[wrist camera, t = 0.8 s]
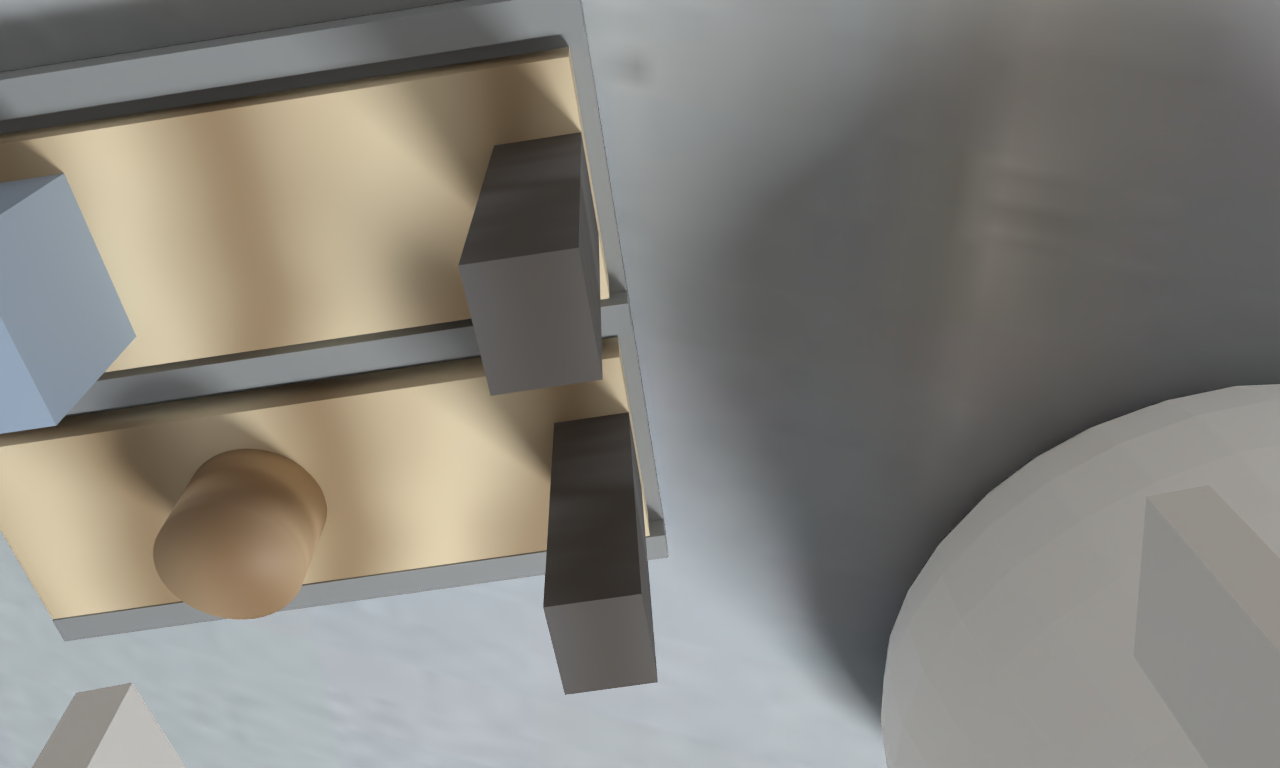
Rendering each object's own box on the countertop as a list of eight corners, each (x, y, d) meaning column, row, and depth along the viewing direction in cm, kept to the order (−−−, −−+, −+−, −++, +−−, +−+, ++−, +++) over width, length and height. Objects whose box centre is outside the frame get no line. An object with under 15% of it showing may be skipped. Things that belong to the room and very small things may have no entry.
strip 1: (-50, 376, 31) (-298, 587, 22) (-171, 160, 27) (-521, 311, 19) (608, 279, 30) (616, 457, 22) (569, 46, 27) (560, 148, 18)
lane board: (83, 612, 37) (64, 641, 35) (-202, 104, 27) (-243, 117, 26) (665, 531, 36) (668, 557, 35) (578, -18, 27) (577, -11, 25)
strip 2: (71, 592, 35) (-96, 837, 27) (-20, 429, 32) (-246, 651, 23) (647, 511, 35) (667, 735, 26) (618, 336, 31) (630, 528, 23)
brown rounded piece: (216, 565, 33) (185, 627, 31) (167, 459, 31) (129, 516, 28) (343, 547, 33) (322, 608, 30) (303, 439, 31) (277, 495, 28)
